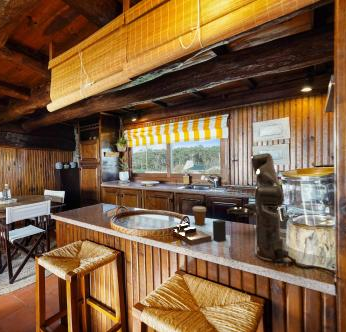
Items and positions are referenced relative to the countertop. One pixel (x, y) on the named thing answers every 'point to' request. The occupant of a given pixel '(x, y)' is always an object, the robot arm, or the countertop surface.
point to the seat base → (191, 235)
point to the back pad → (219, 230)
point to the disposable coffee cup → (199, 215)
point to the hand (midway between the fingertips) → (233, 213)
